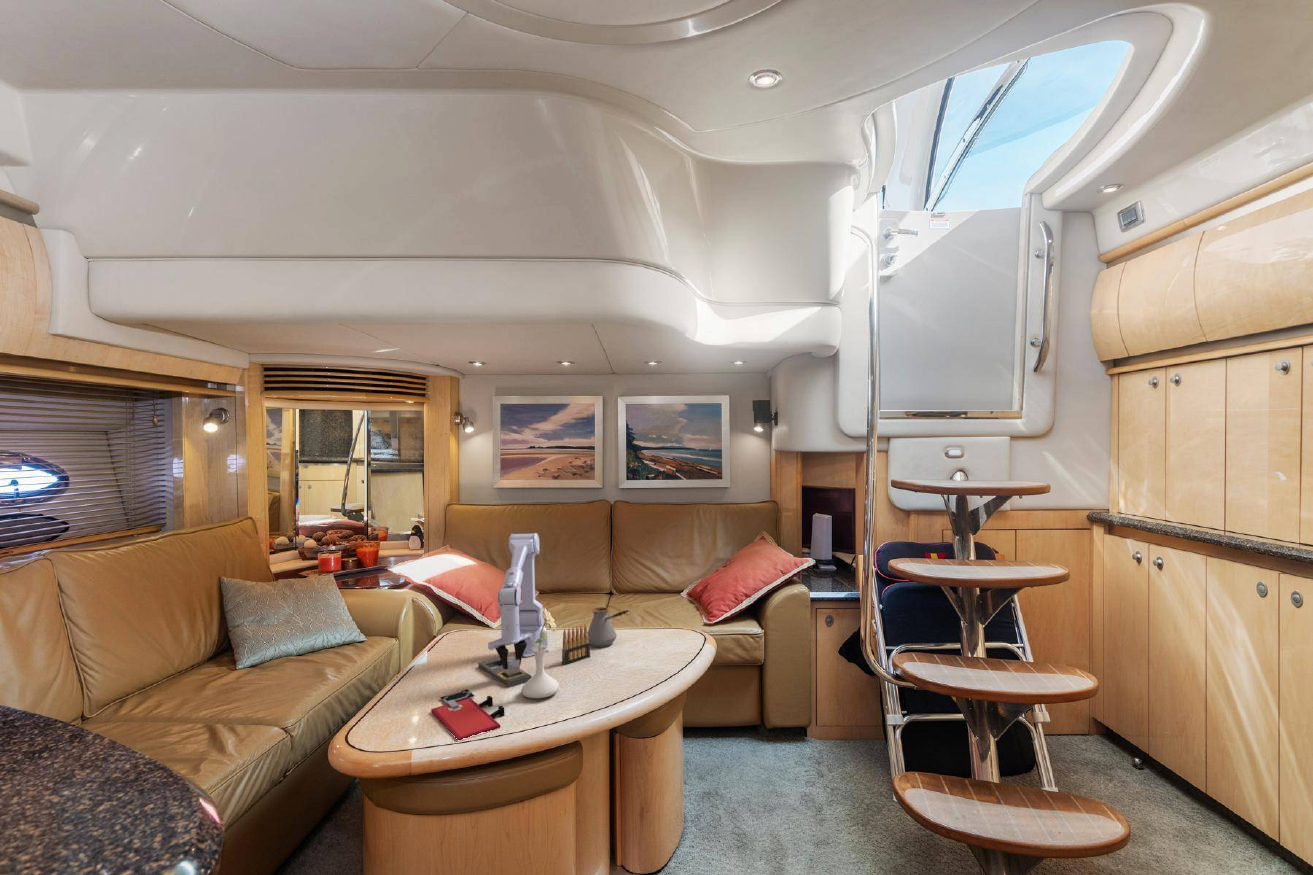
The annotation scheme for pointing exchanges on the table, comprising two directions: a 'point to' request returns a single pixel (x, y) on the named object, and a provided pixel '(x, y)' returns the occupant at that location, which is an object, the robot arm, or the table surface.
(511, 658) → the grey rectangular block
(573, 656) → the ammunition clip
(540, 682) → the flower in vase
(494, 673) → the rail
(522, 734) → the table surface
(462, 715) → the red board with handle
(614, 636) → the coffee pot
